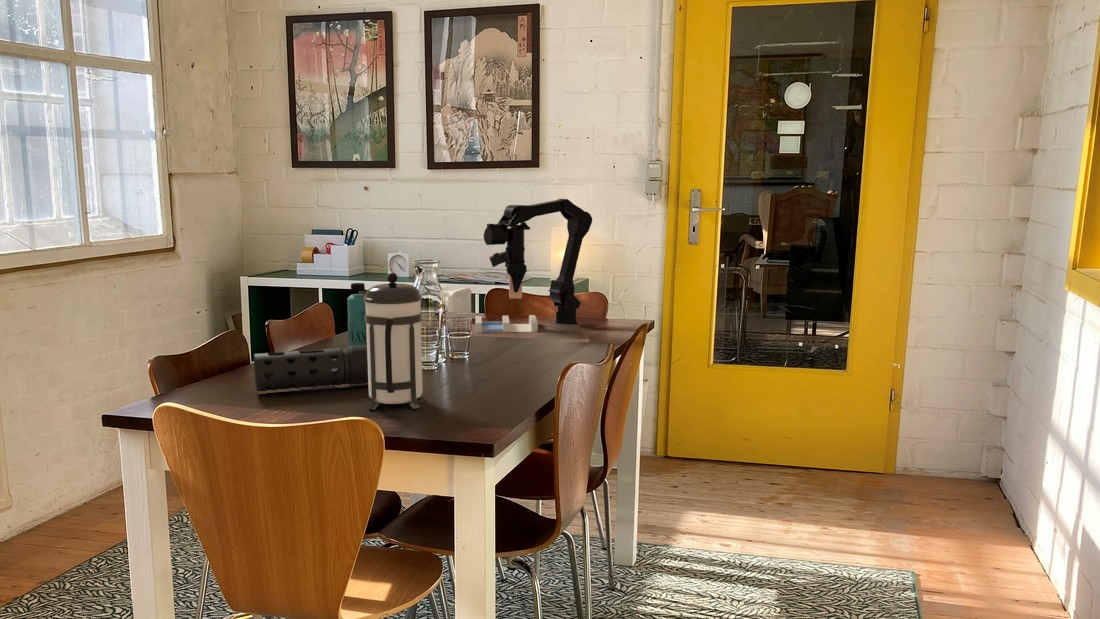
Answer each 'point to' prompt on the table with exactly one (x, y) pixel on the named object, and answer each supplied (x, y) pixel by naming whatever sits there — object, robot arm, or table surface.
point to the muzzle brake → (311, 368)
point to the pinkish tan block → (511, 290)
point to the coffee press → (394, 342)
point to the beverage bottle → (357, 316)
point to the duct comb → (506, 325)
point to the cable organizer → (457, 300)
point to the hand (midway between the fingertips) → (515, 291)
